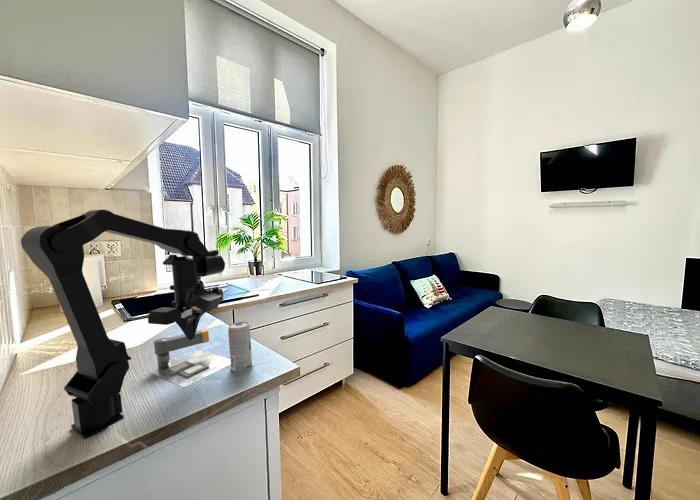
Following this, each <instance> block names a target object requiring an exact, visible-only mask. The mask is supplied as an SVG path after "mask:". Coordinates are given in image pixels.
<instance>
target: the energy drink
mask: <svg viewBox="0 0 700 500" xmlns="http://www.w3.org/2000/svg"><path fill="white" fill-rule="evenodd" d="M227 330H228V347H229V359H230V362H231V364H230V370H231V371H232V372H234V373H242V372H246V371H248V370H249V369H251V368H252V367H253V358H252V357H253V356H252V339H251V327H250V323H249V322H247V321H237V322H234V323H231V324H229V325H228V328H227Z"/></svg>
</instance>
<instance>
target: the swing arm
mask: <svg viewBox="0 0 700 500" xmlns="http://www.w3.org/2000/svg"><path fill="white" fill-rule="evenodd" d="M205 343H210V336H209V330H208V329H207V328H202V329H199V330H196V333H195V337H194V339H192V340H188V338H187V337H186V335H185V334H184V333H183V334H179V335H176V336H171V337H160V338H158V339H155V340H154V341H153V345H154V347H153V349H154V354H155V355H156V356H157V355H161V354H165V353H168V352H169V353H170V352H174V351H177V350H181V349H184V348H187V347H192V346H195V345H200V344H205Z"/></svg>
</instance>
